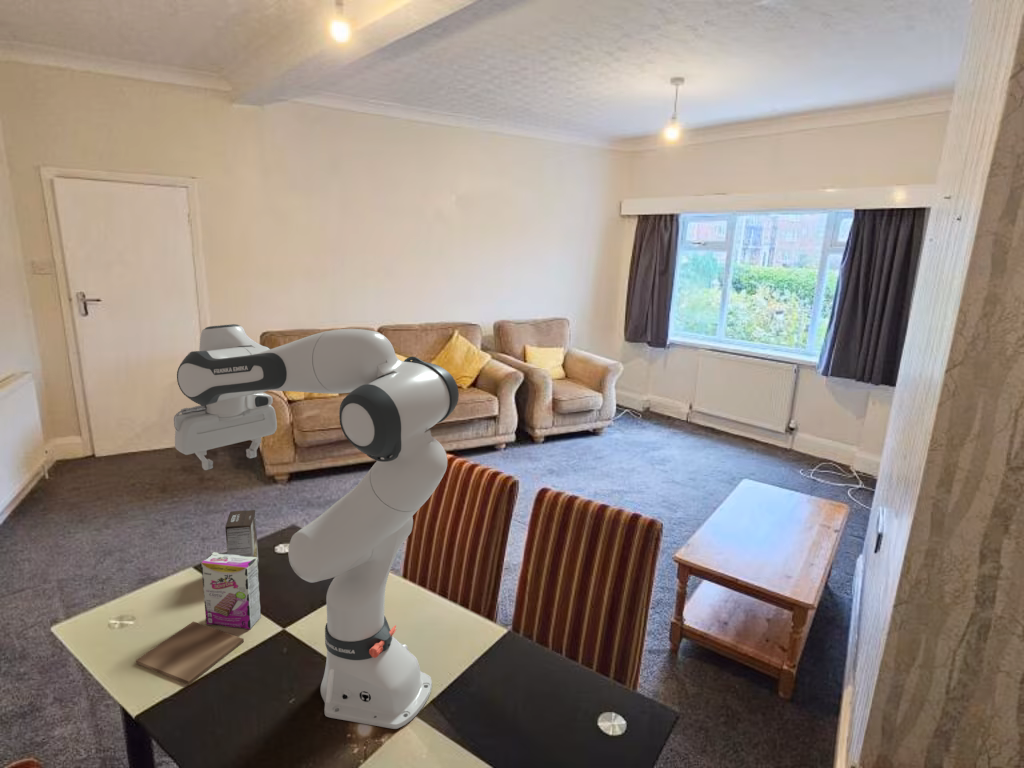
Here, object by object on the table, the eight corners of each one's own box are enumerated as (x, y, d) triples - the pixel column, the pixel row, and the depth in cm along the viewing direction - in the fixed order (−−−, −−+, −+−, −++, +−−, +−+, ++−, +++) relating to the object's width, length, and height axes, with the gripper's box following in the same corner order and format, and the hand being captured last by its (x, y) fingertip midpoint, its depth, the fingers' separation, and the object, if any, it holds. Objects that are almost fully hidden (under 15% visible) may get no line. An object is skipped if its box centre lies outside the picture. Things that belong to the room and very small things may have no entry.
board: (243, 641, 126) (243, 638, 126) (189, 684, 113) (188, 681, 113) (193, 624, 131) (193, 621, 130) (135, 663, 118) (135, 660, 118)
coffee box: (233, 564, 156) (230, 510, 152) (259, 561, 158) (255, 508, 154) (228, 582, 147) (224, 526, 144) (255, 579, 149) (251, 524, 146)
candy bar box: (204, 625, 130) (199, 562, 127) (218, 612, 135) (213, 551, 132) (250, 631, 129) (246, 567, 126) (262, 617, 134) (258, 555, 131)
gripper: (180, 414, 107) (185, 481, 110) (279, 395, 123) (281, 454, 126) (165, 406, 111) (171, 471, 114) (264, 390, 127) (266, 447, 130)
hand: (230, 462), depth 120 cm, fingers open, 8 cm apart
